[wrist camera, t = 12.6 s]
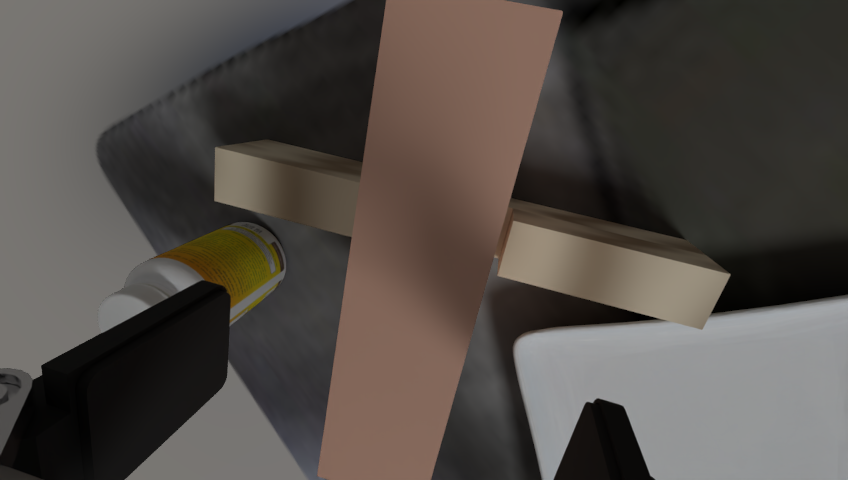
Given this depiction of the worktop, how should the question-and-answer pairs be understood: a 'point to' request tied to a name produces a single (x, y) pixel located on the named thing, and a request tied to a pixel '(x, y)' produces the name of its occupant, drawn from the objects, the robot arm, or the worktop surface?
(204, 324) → the robot arm
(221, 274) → the supplement bottle
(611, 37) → the worktop surface
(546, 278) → the birch rail
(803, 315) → the salad plate
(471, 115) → the pink rectangular slab
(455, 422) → the worktop surface
